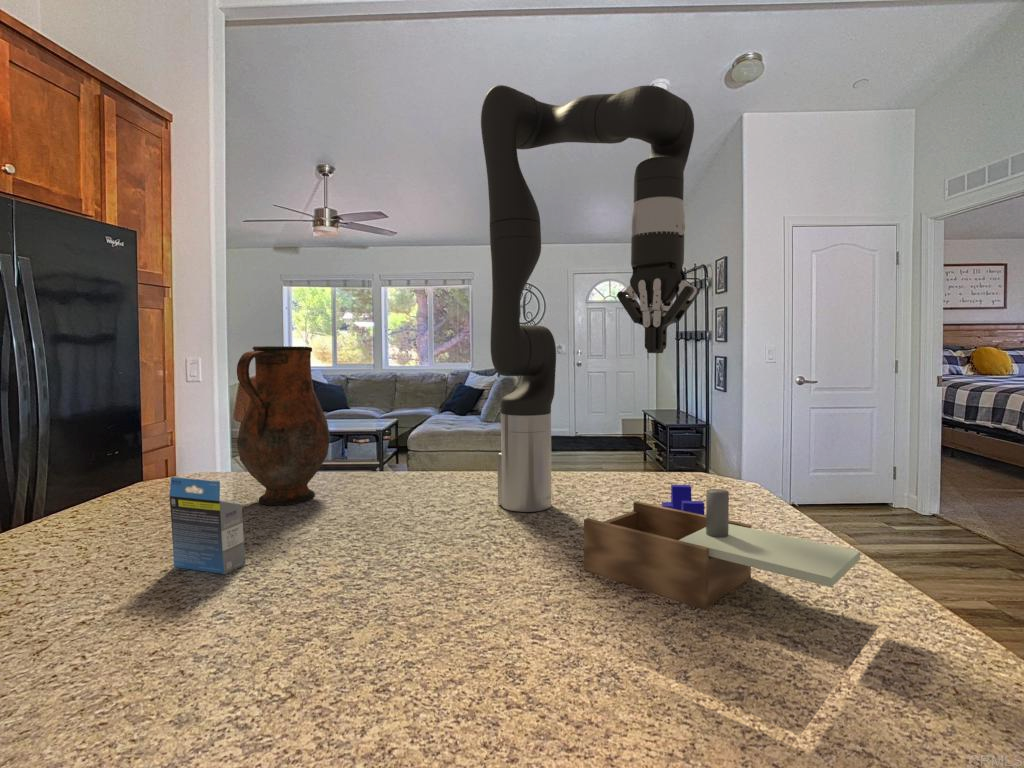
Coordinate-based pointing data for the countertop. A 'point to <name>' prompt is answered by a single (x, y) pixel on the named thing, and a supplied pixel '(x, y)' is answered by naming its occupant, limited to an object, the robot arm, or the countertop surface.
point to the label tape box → (205, 528)
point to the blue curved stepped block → (684, 500)
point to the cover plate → (769, 547)
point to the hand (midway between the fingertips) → (655, 353)
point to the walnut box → (660, 555)
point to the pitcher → (282, 423)
